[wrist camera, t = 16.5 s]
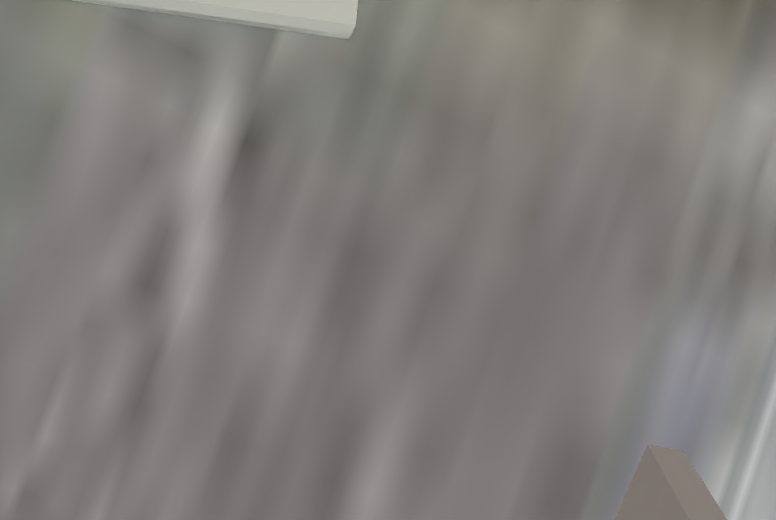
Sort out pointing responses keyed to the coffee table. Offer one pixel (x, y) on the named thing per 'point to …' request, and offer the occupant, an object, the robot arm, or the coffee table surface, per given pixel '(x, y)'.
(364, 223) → the coffee table surface
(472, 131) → the coffee table surface
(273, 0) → the tray
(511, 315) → the coffee table surface
